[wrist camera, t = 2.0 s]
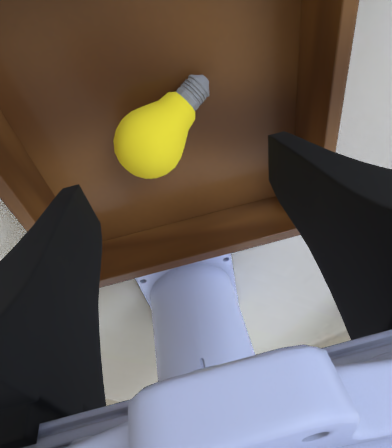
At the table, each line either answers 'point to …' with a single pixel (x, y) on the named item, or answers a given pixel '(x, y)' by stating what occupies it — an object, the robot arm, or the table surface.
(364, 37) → the table surface
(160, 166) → the light bulb
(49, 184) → the tray
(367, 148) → the table surface
